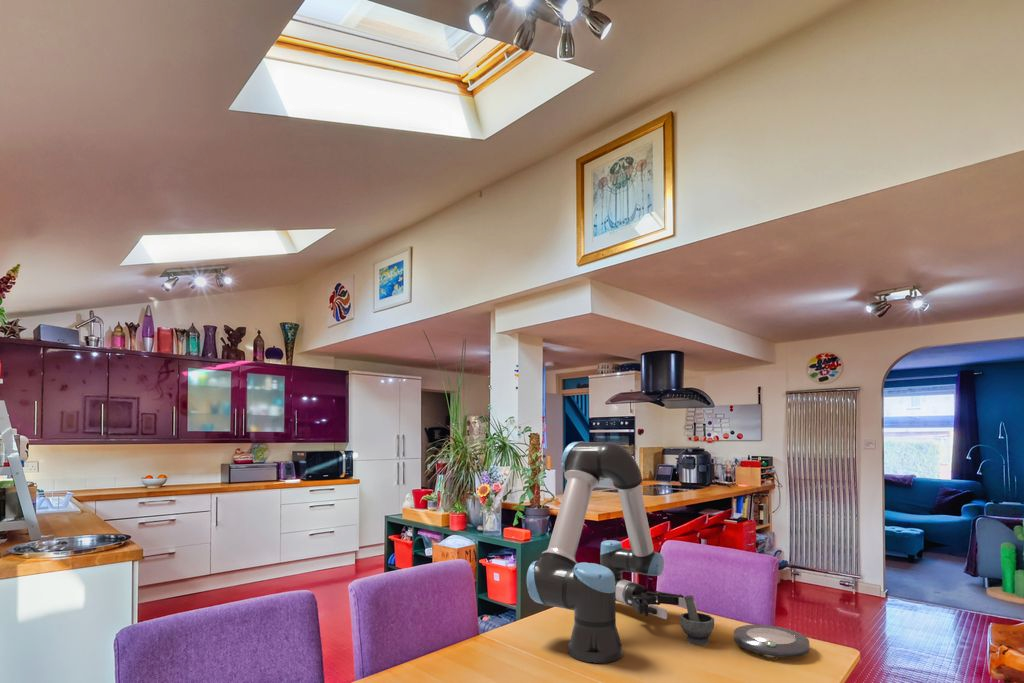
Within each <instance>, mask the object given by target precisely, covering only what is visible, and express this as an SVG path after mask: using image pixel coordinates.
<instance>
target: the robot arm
mask: <svg viewBox="0 0 1024 683" xmlns="http://www.w3.org/2000/svg"><path fill="white" fill-rule="evenodd" d="M561 469H562V473H564V475H563V476H564V478H565V480H566V484H565V487H564V491H563V493H562V494H563V495H562V498H561V501H560V506H559V508H558V513H557V516H556V519H555V523H554V527H553V530H552V532H551V537H550V540H549V544H548V547H547V549H546V550H544V551H543V552H541V554H540V558H539V560H534V561H532V562H531V563H530V565H529V567H528V568H527V573H526V587H527V592H528V594H529V597H530V599H531V600H532V601H533V602H535V603H537V604H540V605H541V604H542V605H543V606H547V607H548V606H549V607H550V606H551V607H555V608H559V609H565V610H570V611H573V612H574V613H573V614H574V618H573V619H574V622H573V627H572V631H571V635H570V639H569V641H568V646H567V648H568V649H567V650H568V654H569V655H570V656H571V657H572V658H574V659H576V660H578V661H581V662H584V663H585V662H586V663H591V662H593V663H592V664H607V663H612V662H616V661H619V660H620V659H621V658H622V657H623V653H624V652H623V644H622V642H621V639H620V638H621V637H620V634H619V632H618V629H617V628H618V627H617V622H616V620H617V618H616V614H617V613H616V612H617V610H616V607H617V606H616V602H617V603H621V604H623V605H624V606H629V607H631V608H633V609H634V610H635V611H636V612H637V613H638V614H641V615H642V614H643V613H644V616H645V617H648V616H650V615H652V616H655V617H658V618H661V619H663V620H667V619H668V609H667V608H663V607H660V606H659V605H661V604H662V605H670V606H678V607H680V608H683V609H686V610H687V605H686V601H685V599H684V597H685V596H684V595H683V594H681V593H679V594H675V593H669V592H662V591H659V590H654V592H652V591H647V589H646V587H645V586H644V585H643V584H639V583H636V582H633V581H630V580H627V579H623V572H627V573H634V574H640V575H644V576H645V575H647V577H648V576H649V577H651V576H653V577H654V576H655V577H659V576H661V575H662V573H663V571H664V569H665V568H664V567H665V559H664V556H663V555H662V553H660V552H657V551H655V549H654V544H653V540H652V535H651V530H650V526H649V521H648V520H649V519H648V516H647V511H646V506H645V500H644V497H643V492H642V486H641V485H642V483H643V477H642V472H641V470H640V467H639V465H638V463H637V461H636V460H635V458H634V457H633V455H632V454H631V453H630V452H629V451H628V450H627V449H626V448H625V447H623V446H622V445H620V444H618V443H615V442H610V441H609V442H608V441H607V442H603V441H602V442H601V441H599V442H596V441H592V442H591V441H584V440H583V441H582V440H581V441H572V442H571V443H569V444H568V445H566V447H565V448H564V451H563V453H562V455H561ZM601 479H610V480H611V481H612V485H613V487H614V488H615V489H616V490H617V492H618V496H619V500H620V505H621V509H622V510H621V511H622V513H623V519H624V523H625V528H626V532H627V536H628V541H629V546H630V548H624V547H623V544H622V542H621V541H618V540H613V539H607V540H603V541H601V543H600V553H599V555H600V556H599V557H600V564H598V563H595V562H593V563H592V562H590V563H589V562H577V560H576V555H577V551H578V547H579V544H580V539H581V536H582V532H583V527H584V524H585V520H586V516H587V512H588V509H589V508H588V507H589V505H590V500H591V496H592V493H593V490H594V489H596V488H597V487H598V486H599V484H600V480H601ZM694 604H695V607H696V611H697V612H698V609H697V608H698V607H697V602H696V601H694Z"/></svg>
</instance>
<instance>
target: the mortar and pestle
mask: <svg viewBox="0 0 1024 683" xmlns="http://www.w3.org/2000/svg"><path fill="white" fill-rule="evenodd" d="M684 599H685V601H686V605H687V609H686V610H687V612H684V613H681V615H680V616H679V622H680V627H681V630H682V631H683V632H684V634H686V636H687V637H686V642H687V641H688V642H687V643H688V644H690V645H693V644H694V645H695V646H700V645H701V647H702V646H707V645H709V641H710V640H709V637H711V635H712V633H713V630H714V628H715V627H714V626H715V618H714V616H713V617H712V616H711V615H709V614H707V613H701V612H698V610H697V611H696V607H695V604H694V602H695V600H694V599H695V598H694V596H693V595H689V594H688V595H686V596H684Z"/></svg>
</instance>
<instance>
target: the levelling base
mask: <svg viewBox="0 0 1024 683" xmlns="http://www.w3.org/2000/svg"><path fill="white" fill-rule="evenodd" d="M794 635H795V636H794ZM733 640H734V642H735V643H736V644H737V645H738V646H740V648H742V649H745V650H747V651H750V652H753V653H756V654H760V655H761V656H763V657H762V658H764V659H766V658H767V660H770V659H776V660H778V659H779V658H797V657H802V656H805V655H807V654H809V652H810V648H811V647H810V646H811V645H810V640H809V639H808V637H807V636H806V635H804V634H802V633H800V632H797V631H795V630H792V629H790V628H785V627H781V626H776V625H769V624H745V625H741V626H738V627H736V628H735V629H734V630H733ZM777 658H778V659H777Z"/></svg>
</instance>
